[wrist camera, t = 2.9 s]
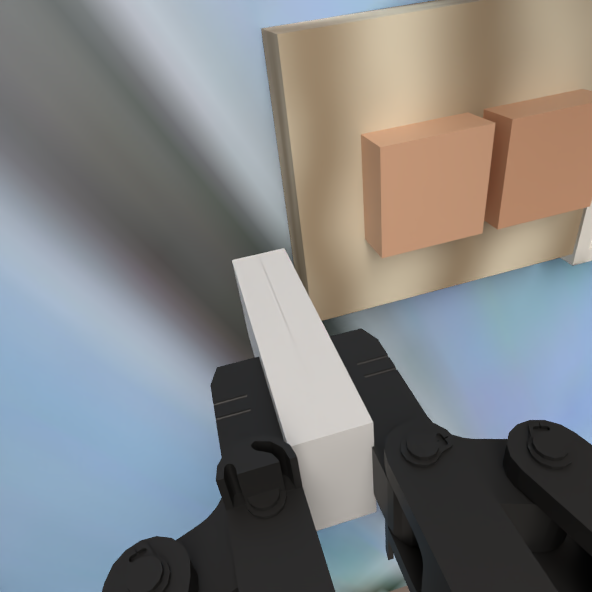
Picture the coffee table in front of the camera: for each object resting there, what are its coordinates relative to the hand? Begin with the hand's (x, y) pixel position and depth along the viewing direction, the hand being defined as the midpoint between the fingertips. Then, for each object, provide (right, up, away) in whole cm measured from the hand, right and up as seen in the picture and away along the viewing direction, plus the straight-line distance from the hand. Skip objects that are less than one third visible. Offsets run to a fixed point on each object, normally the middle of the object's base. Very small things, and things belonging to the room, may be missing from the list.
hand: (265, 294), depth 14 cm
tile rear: (+11, +6, +7) cm, 14 cm away
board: (+7, +7, +8) cm, 13 cm away
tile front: (+6, +5, +6) cm, 9 cm away
